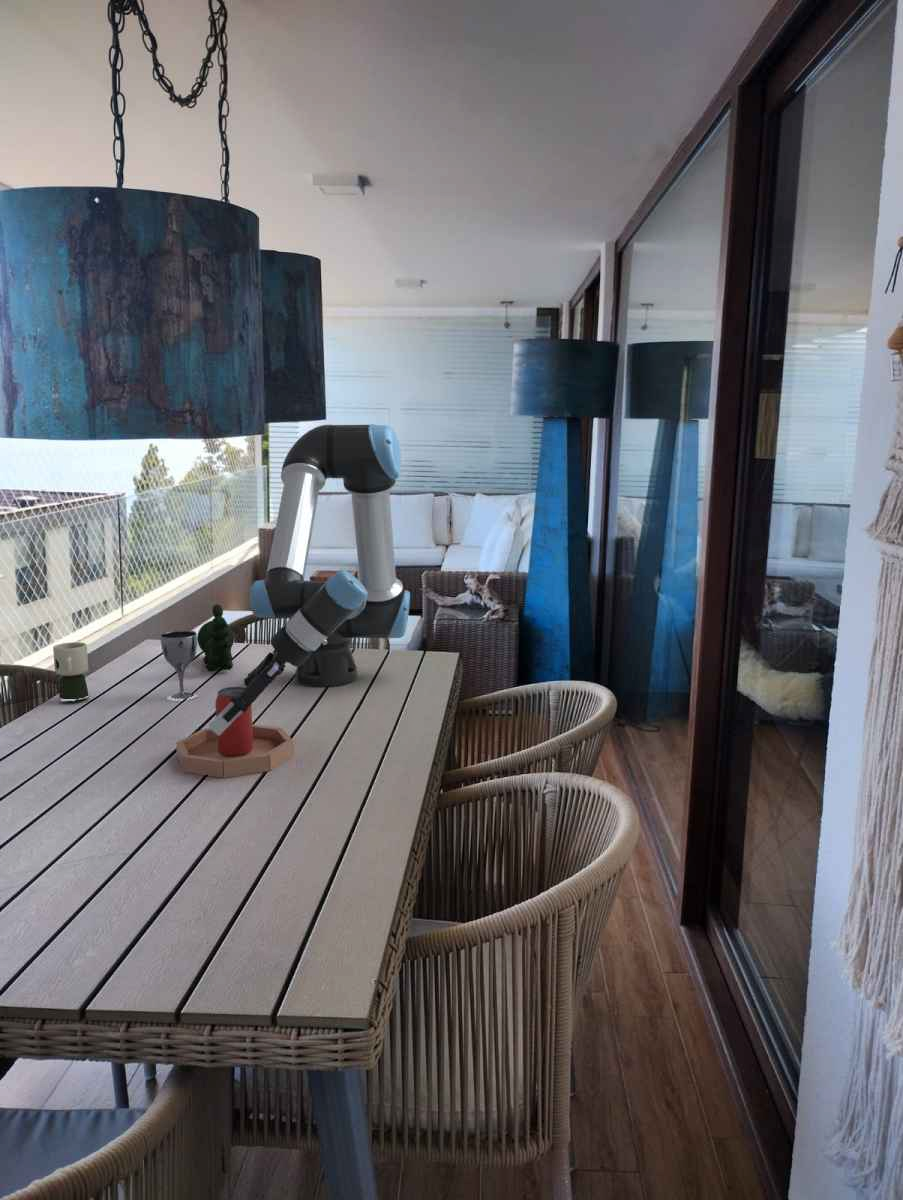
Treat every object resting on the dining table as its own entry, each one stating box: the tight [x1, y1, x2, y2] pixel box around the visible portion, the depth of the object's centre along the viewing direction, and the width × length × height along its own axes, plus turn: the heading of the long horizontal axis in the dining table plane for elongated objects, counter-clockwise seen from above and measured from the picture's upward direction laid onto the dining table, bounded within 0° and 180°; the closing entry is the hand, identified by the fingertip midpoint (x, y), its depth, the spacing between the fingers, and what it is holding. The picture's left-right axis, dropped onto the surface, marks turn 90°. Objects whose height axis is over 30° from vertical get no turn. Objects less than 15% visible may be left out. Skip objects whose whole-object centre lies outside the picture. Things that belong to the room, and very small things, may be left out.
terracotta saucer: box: [175, 723, 294, 779], centre depth 181 cm, size 20×20×3 cm
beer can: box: [214, 686, 253, 756], centre depth 180 cm, size 7×7×12 cm
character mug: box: [52, 641, 89, 699], centre depth 216 cm, size 11×7×13 cm, turn 15°
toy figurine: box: [197, 603, 235, 672], centre depth 246 cm, size 9×19×25 cm
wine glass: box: [160, 629, 198, 699], centre depth 219 cm, size 8×8×15 cm
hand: (219, 720), depth 179 cm, fingers open, 11 cm apart
